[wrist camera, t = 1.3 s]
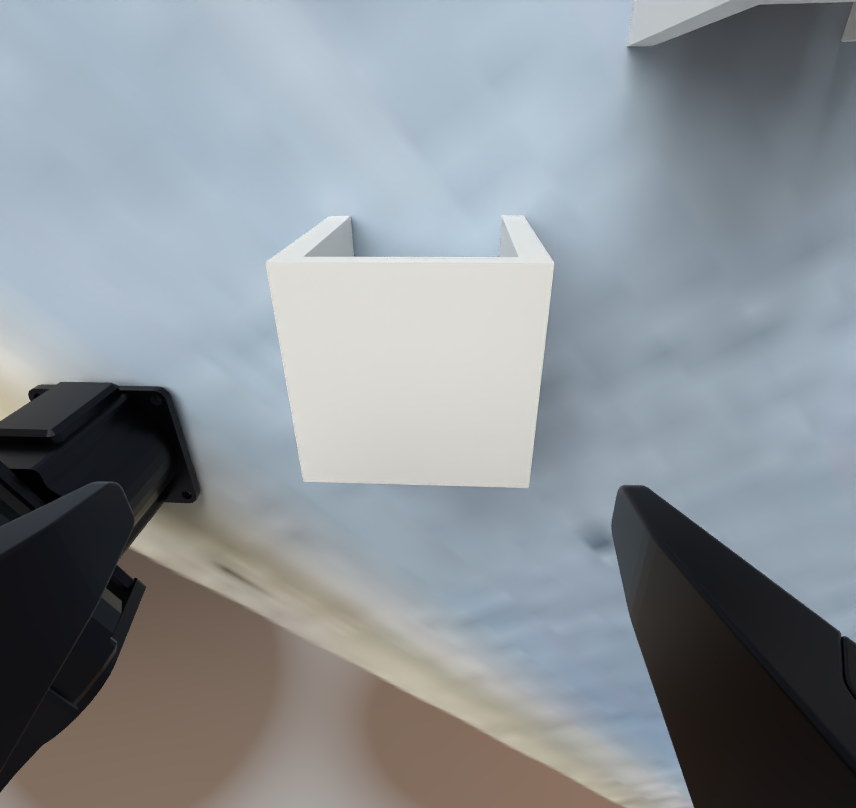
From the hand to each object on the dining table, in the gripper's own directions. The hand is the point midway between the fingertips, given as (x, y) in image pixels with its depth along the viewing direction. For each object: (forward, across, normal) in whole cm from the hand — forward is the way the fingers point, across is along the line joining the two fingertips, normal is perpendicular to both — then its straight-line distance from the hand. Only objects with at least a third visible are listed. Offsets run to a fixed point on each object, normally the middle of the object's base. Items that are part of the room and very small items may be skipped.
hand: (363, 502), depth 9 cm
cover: (+13, 0, +1) cm, 13 cm away
